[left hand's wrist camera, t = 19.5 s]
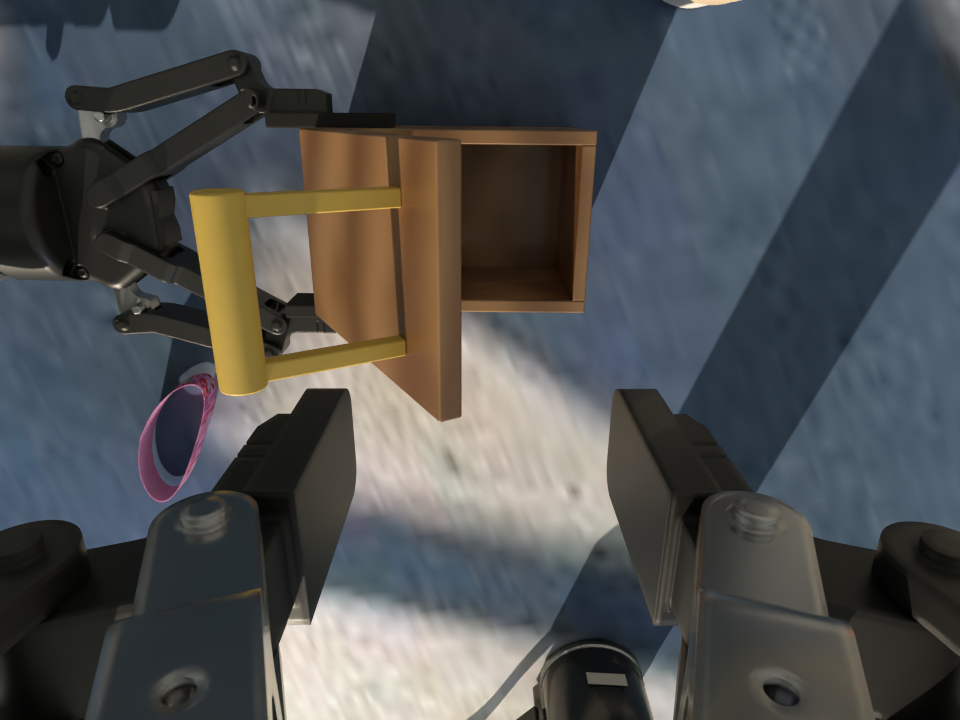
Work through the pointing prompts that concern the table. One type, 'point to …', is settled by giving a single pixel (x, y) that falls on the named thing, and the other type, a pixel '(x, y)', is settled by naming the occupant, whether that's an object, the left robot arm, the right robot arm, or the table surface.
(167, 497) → the pink curved piece
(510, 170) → the chest
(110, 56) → the table surface
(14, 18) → the table surface
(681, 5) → the coffee cup
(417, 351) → the lid
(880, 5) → the table surface
